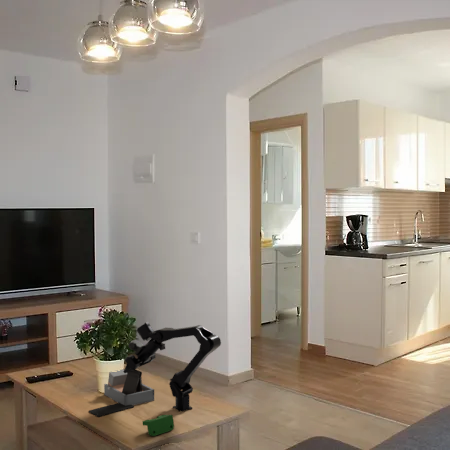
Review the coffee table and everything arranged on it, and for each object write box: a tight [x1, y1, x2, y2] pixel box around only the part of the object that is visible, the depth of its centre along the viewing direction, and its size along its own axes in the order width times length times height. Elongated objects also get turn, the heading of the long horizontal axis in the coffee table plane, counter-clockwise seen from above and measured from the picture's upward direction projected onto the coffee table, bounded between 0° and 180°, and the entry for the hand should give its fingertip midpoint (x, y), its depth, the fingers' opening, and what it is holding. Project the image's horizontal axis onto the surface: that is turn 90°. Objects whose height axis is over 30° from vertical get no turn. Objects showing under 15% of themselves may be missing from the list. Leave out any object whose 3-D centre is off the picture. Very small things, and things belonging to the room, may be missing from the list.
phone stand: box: [122, 369, 143, 395], centre depth 261 cm, size 9×6×12 cm, turn 158°
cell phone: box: [88, 402, 135, 418], centre depth 249 cm, size 9×18×1 cm, turn 133°
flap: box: [107, 368, 143, 392], centre depth 265 cm, size 19×12×10 cm, turn 37°
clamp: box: [142, 414, 175, 437], centre depth 225 cm, size 12×6×9 cm, turn 128°
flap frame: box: [103, 383, 155, 406], centre depth 265 cm, size 21×16×5 cm
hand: (129, 369), depth 263 cm, fingers open, 9 cm apart
